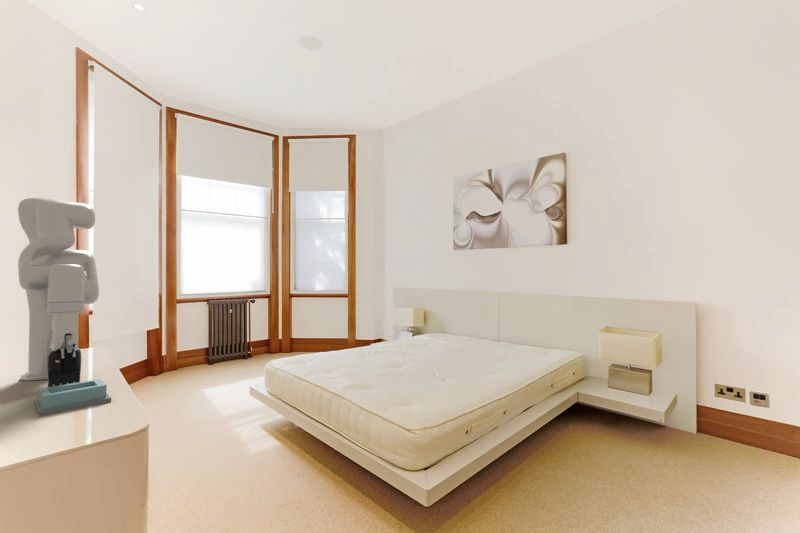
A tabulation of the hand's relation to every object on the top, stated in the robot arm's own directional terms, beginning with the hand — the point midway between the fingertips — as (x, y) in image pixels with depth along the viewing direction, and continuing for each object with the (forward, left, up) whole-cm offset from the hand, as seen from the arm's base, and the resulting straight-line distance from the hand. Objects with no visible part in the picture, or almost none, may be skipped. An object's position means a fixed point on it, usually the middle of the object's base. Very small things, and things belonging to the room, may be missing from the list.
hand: (65, 370), depth 101 cm
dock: (+15, 0, -6) cm, 16 cm away
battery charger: (-1, 0, -6) cm, 6 cm away
